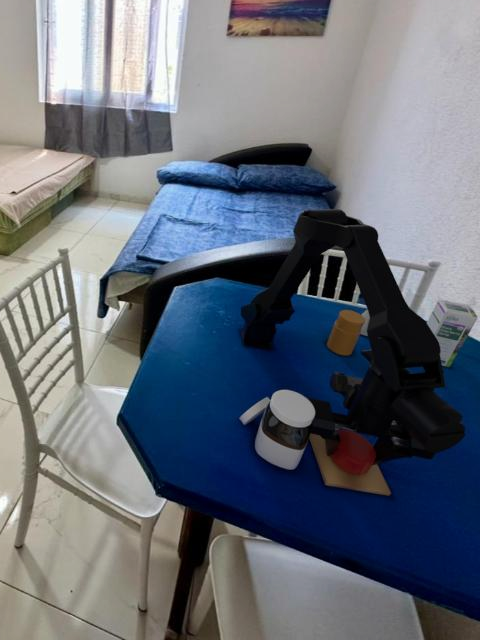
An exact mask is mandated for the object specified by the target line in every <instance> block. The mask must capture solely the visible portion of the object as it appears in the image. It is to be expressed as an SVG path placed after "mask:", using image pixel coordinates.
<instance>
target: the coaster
mask: <svg viewBox="0 0 480 640" xmlns="http://www.w3.org/2000/svg"><path fill="white" fill-rule="evenodd" d="M309 441H310V444H311V447H312V450H313V453H314V456H315V460H316V461H317V465H318V467H319V470H320V474H321V476H322V479H323V482H324V485H325V486H328V487H333V488H334V487H335V488H341V489H347V490H352V491H359V492H365V493H371V494H374V495H375V494H376V495H382V496H388V497H389V496H391V494H392V492H391V490H390V488H389V486H388V483H387V481H386V480H385V478H384V475H383V472H382V471H381V468H380V466H379V464H376V465H373V466H372V467H371V468H370V470H369V471H368V472H367V473H366V474H363V475H354V474H351V473H348V472H346V471H344V470H342V469H341V468H340V467H338V466H337V465H336V464H335V463H334V462H333V461H332V459H331V457H330V456H327V453H326V445H325V439H323V438H321V436H320V435H315V434H310V437H309Z"/></svg>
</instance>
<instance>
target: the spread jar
mask: <svg viewBox="0 0 480 640" xmlns="http://www.w3.org/2000/svg"><path fill="white" fill-rule="evenodd" d="M305 397H306V396H304V395H303V394H301V393H299V392H296V391H294V390H290V389H280V390H277V391H275V392H273V394H272V396H271V399H270V398H269V396H266V397H265V398H262V399H261V400H259V401H258V402H257V403H255V404H254V405H252V406H251V407H250V408H249V409H247V410H246V411H245V412H243V414H241V416H240V417H239V418H238V419H239V420H240V421H241V423H242V424H243V425H245V426H246V425H247V424H249V423H250V422H252V421H254V420H255V419H256V418H257V417H259V416H260V415H261V414H262V417H261V420H260V423H259V426H258V429H257V432H256V436H255V439H254V440H255V441H254V450H255V452H256V454H257V455H258V456H259V457H260V458H261V459H262V460H263V461H265V462H267V463H268V464H270V465H271V466H274V467H275V468H278V469H281V470H285V471H292V470H295V469H296V468H297V467H298V466H299V463H300V461H301V459H302V457H303V455H304V452H305V450H306V448H307V445H308V442H309V441H310V439H309V437H310V434H311V433H310V428H309V425H310V424H311V422H312V420H313V419H314V416H315V409H314V407H313V405H312V404H311V402H310V401H309V400H308V399H307V398H308V397H307V398H305Z"/></svg>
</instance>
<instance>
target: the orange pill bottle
mask: <svg viewBox="0 0 480 640" xmlns="http://www.w3.org/2000/svg"><path fill="white" fill-rule="evenodd" d="M364 323H365V318H364V317H363V316H362V314H360V313H359V312H356V311H353V310H351V309H342V310H340V311H339V314H338V316H337V318H336V320H335V321H334V324H333V326H332V329H331V332H330V334H329V337H328V339H327V342H326V347H327V348H328V349H329V350H330V351H331V352H333V353H335V354H337V355H340V356H351V355H352V354H353V353H354V350H355V347H356V345H357V343H358V341H359V338H360V336H361V335H362V334H361V329H362V326H363V324H364Z"/></svg>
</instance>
